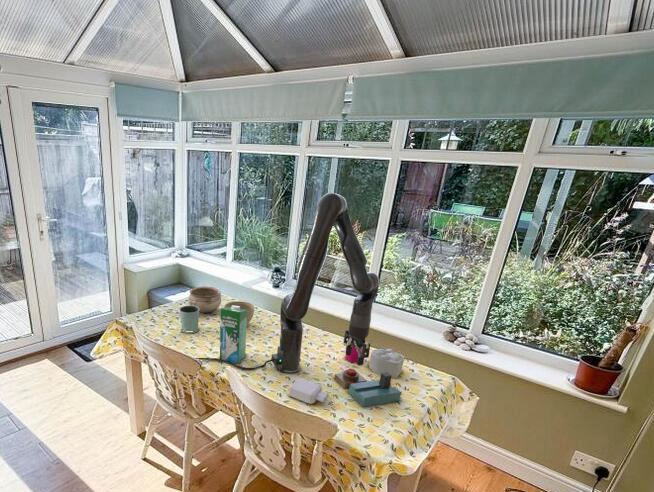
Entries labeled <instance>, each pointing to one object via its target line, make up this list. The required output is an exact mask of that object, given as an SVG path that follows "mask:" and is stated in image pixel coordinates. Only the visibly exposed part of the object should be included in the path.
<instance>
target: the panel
mask: <svg viewBox="0 0 654 492" xmlns="http://www.w3.org/2000/svg"><path fill="white" fill-rule="evenodd" d="M347 371H348V369H345V370H343V372H340V373H339V372H338V373H335V374H334V380H335V381H336V382H338V384H339V385H341V386H342V388H343V389H349V388H350V384H353V383H360V382H367V381H368V380H367V379H366V378H365V377H364V376H362V375H361V374H360V372H358V371H357V370H356V374H355V376H350V375H348V374H347Z"/></svg>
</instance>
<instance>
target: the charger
mask: <svg viewBox="0 0 654 492" xmlns="http://www.w3.org/2000/svg"><path fill="white" fill-rule="evenodd" d="M288 392H289V393H288V396H289V397H292V398H294V399H296V400H300V401H302V402H305V403H307V404H309V405H311V404H315V403H316V401H319V402H321V403H325V402H326V401H327V402H331V400H333V398H332V397H330V396H329V395H330V394H329V393H327V392H323V386H322V385H321V384H319V383H316V382H313V381H311V380H308V379H306V378H302V377H298V379H297V380H295V381H294V382H293V383H292V384H291V385H290V387H289V391H288Z"/></svg>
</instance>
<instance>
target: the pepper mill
mask: <svg viewBox="0 0 654 492" xmlns="http://www.w3.org/2000/svg"><path fill="white" fill-rule="evenodd" d="M351 347H352V351H351V355H348V356H347V355H346V354H345V360H347V361H348V362H351V363H357V361H358V357H359V356H358V352H357V351H356V348H355V347H354V346H351ZM359 349H362V347H361V348H359ZM361 354H362V351H361Z"/></svg>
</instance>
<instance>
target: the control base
mask: <svg viewBox="0 0 654 492" xmlns="http://www.w3.org/2000/svg"><path fill="white" fill-rule="evenodd" d="M379 382H380V379H374V380H367V382H360V383H353V384H350V388H348V394H350V395H351V396H352V397H353V398H354V399H355V400H356V402H357V403H358V404H359V405H360V406H362V407H363V408H366V407H371V406H376V405H382V404H389V403H394V402H400V401H401V397H402V391H401V390H400V389H399V388H397V387H396V386H392V383H391V382H390V387H388V388H385V389H380V385H379Z"/></svg>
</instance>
